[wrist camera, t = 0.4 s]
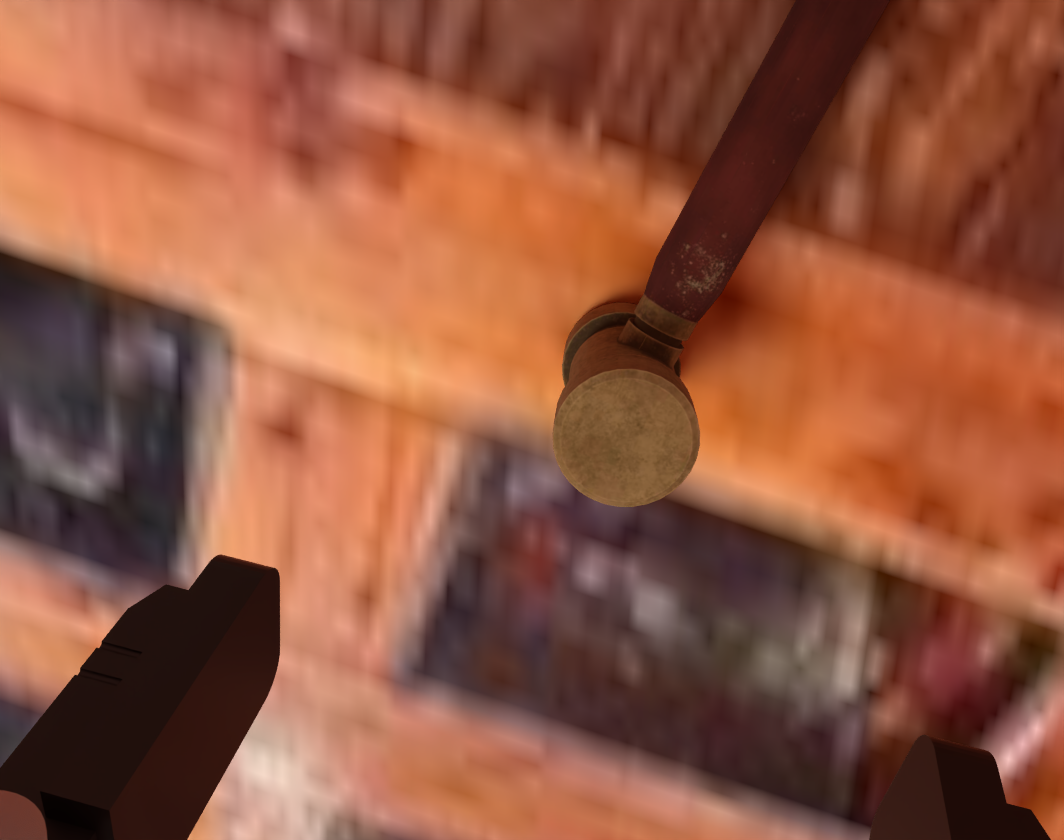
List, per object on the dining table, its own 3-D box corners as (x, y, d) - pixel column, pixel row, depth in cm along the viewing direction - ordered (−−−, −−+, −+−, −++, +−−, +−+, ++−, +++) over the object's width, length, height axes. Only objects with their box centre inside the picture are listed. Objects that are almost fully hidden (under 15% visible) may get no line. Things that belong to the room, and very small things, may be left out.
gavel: (817, -140, 33) (903, -230, 24) (932, -75, 34) (1061, -139, 24) (544, 379, 40) (527, 470, 31) (642, 428, 40) (655, 532, 31)
